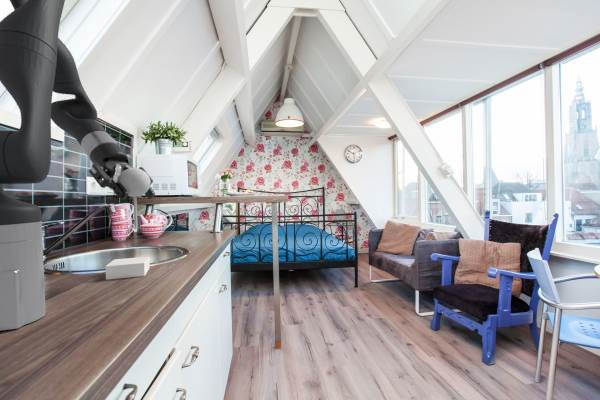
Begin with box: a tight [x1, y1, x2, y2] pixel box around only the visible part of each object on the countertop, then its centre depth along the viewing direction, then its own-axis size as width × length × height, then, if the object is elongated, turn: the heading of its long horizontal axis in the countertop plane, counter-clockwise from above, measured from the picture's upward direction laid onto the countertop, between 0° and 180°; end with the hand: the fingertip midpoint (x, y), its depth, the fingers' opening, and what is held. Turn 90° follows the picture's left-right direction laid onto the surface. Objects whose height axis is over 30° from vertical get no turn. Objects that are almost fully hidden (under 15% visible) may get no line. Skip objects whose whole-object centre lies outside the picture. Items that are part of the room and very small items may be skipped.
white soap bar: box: [105, 256, 150, 281], centre depth 84 cm, size 9×9×4 cm
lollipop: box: [119, 167, 151, 230], centre depth 75 cm, size 7×7×15 cm
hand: (139, 196), depth 75 cm, fingers closed on lollipop, 7 cm apart
